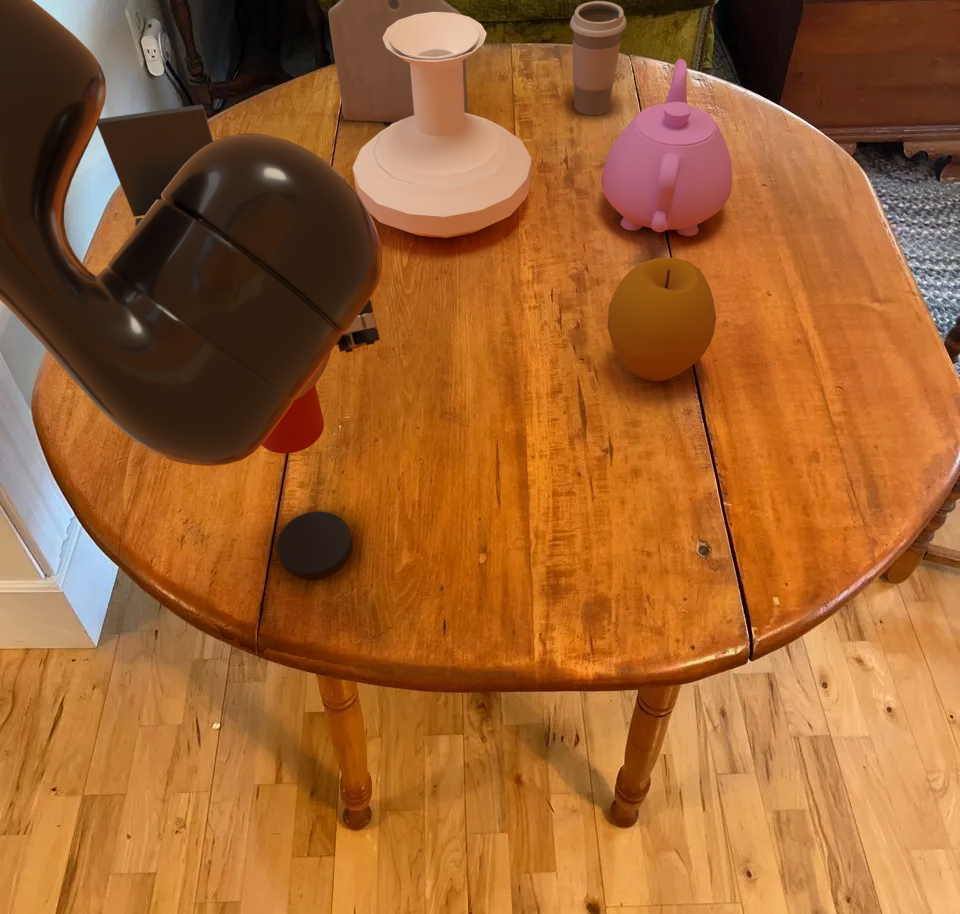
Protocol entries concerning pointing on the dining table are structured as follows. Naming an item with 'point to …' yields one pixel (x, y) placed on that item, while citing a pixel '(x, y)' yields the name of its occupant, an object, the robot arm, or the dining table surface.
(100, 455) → the dining table surface
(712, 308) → the apple
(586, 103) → the cup
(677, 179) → the teapot
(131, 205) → the box lid
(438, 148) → the candle holder
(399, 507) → the dining table surface
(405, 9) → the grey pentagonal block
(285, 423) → the sauce bottle
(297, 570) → the black coaster
